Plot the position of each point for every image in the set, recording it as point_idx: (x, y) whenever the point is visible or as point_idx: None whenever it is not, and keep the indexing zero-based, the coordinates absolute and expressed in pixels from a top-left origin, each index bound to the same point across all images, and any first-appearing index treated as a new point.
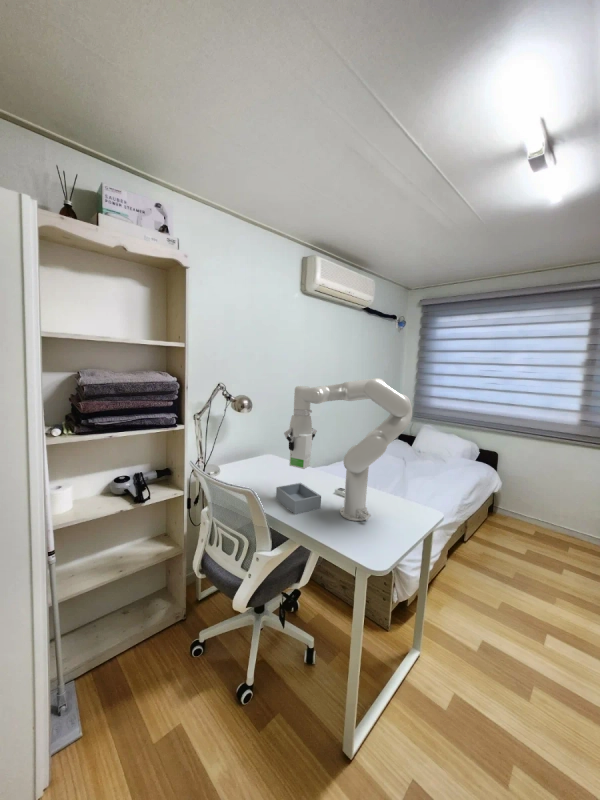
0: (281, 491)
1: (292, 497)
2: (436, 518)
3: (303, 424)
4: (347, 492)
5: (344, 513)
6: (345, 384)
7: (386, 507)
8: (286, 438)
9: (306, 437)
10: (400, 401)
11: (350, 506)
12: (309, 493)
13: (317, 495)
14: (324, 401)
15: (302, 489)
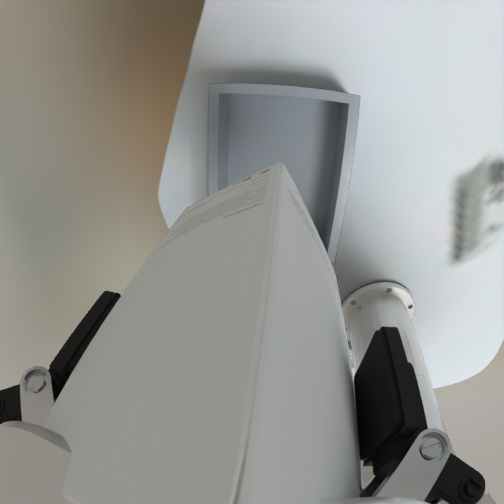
0: (208, 135)
1: (283, 122)
2: (464, 379)
3: None
4: (356, 368)
5: (349, 311)
6: None
7: (464, 323)
8: (2, 396)
9: None
10: None
11: (351, 346)
12: (335, 186)
13: (327, 248)
14: None
15: (342, 126)
